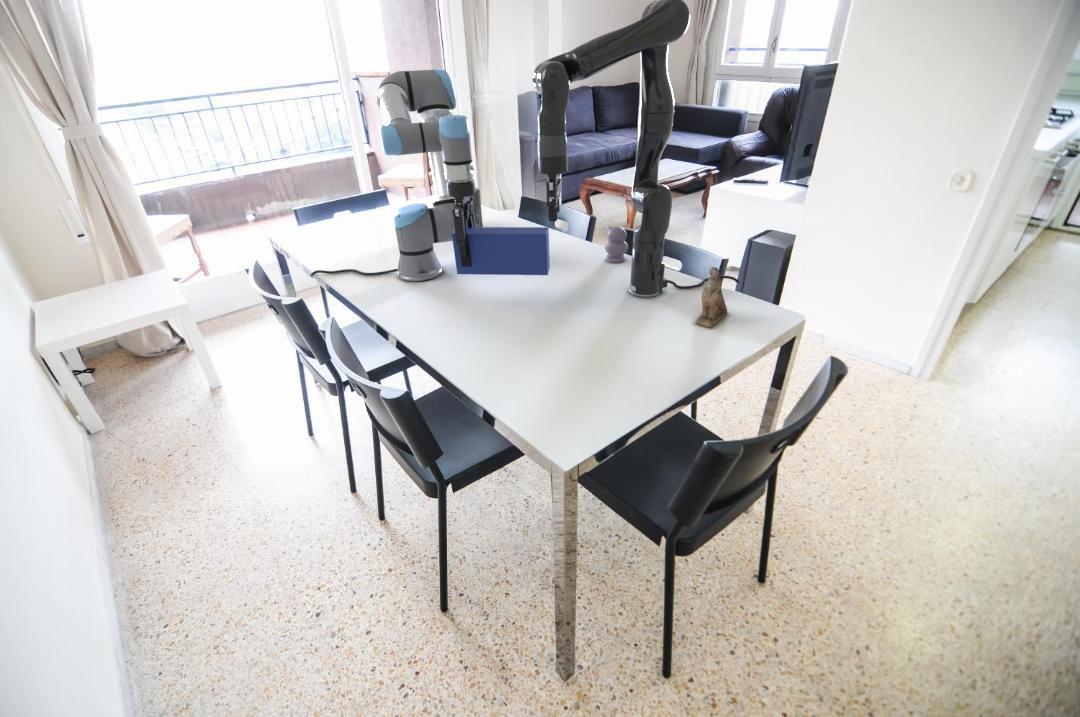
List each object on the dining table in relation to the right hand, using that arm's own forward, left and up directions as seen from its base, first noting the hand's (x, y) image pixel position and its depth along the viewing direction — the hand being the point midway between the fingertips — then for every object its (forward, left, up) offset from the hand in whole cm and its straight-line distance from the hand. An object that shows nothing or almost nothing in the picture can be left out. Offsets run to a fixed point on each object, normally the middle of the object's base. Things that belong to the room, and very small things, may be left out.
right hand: (554, 216), depth 134 cm
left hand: (+23, -10, -13) cm, 29 cm away
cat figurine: (-32, -31, -27) cm, 53 cm away
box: (+14, -6, -16) cm, 22 cm away
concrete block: (+17, -83, -27) cm, 89 cm away
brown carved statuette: (-39, +21, -27) cm, 52 cm away
